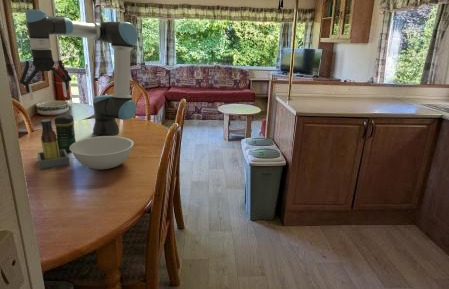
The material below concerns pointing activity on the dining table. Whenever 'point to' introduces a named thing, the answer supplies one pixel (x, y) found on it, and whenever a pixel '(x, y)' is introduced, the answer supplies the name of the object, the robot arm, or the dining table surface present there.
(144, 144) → the dining table surface
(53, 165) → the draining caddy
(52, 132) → the sauce bottle
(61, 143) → the coffee jar
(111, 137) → the bowl
